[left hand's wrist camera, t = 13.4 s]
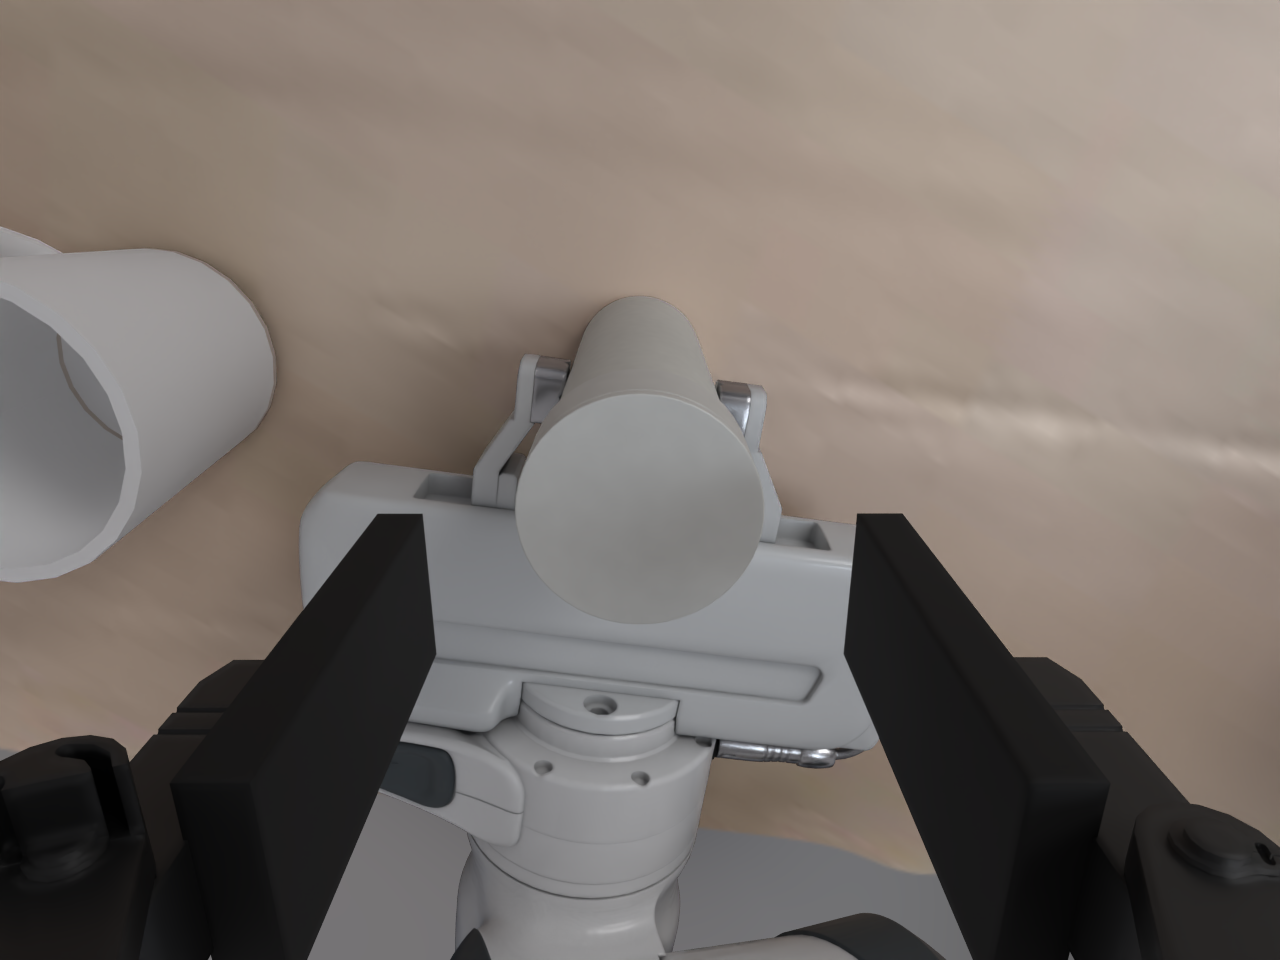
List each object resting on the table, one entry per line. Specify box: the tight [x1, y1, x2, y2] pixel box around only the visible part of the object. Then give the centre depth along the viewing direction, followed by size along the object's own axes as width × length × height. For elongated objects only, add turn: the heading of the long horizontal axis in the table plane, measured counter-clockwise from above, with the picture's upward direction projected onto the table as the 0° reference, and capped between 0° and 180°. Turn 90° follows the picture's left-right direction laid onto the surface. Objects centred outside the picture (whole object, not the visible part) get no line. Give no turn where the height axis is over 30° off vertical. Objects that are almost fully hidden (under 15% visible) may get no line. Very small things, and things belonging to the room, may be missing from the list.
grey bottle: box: [560, 296, 719, 400], centre depth 25 cm, size 5×5×16 cm
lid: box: [515, 369, 765, 624], centre depth 18 cm, size 5×5×2 cm
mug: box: [0, 227, 277, 583], centre depth 27 cm, size 11×9×10 cm
